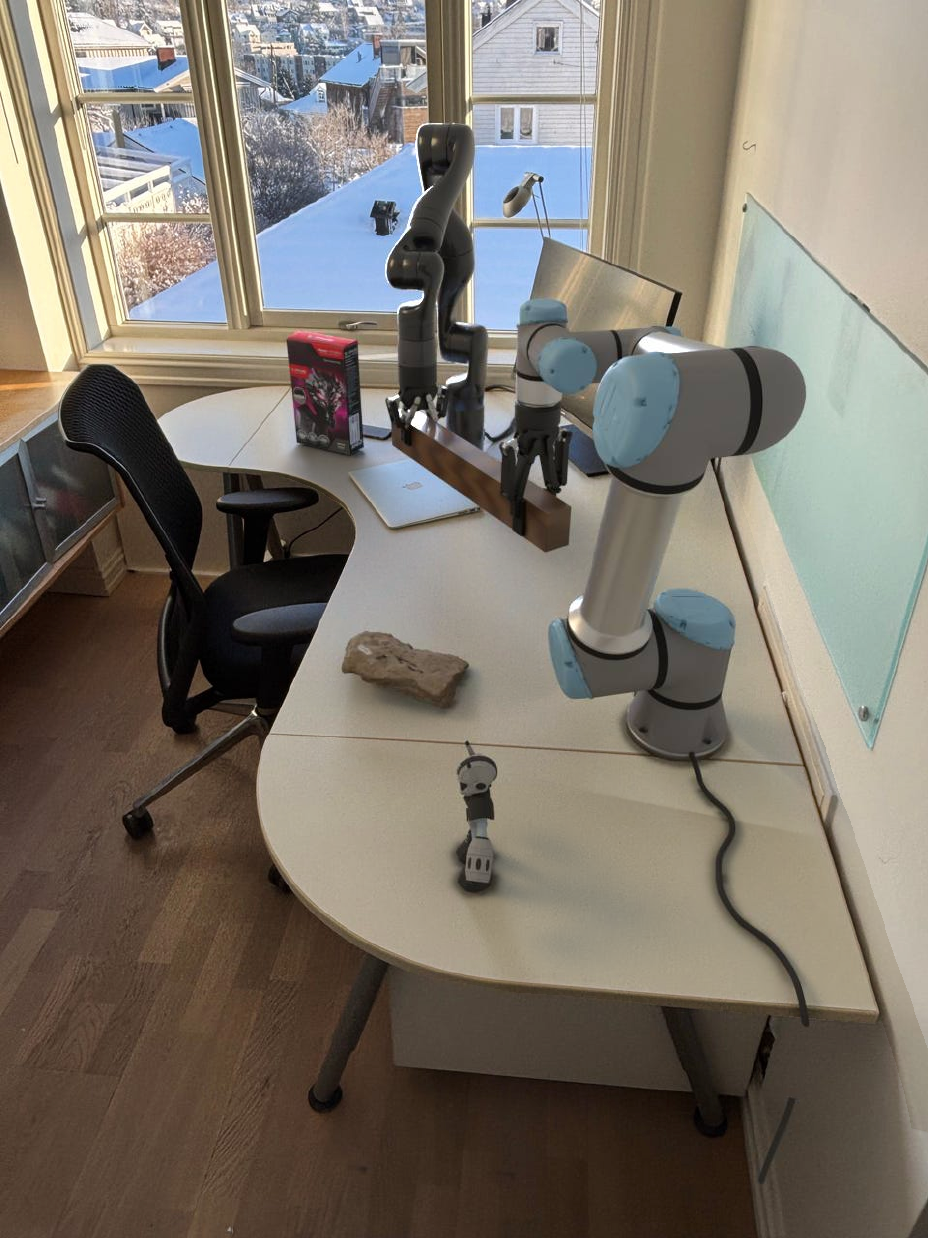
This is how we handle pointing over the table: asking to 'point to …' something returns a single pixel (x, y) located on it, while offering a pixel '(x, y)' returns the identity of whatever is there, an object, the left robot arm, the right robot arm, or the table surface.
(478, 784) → the robot
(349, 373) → the graphics card box
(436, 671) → the stone
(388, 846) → the table surface
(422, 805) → the table surface
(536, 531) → the beam
